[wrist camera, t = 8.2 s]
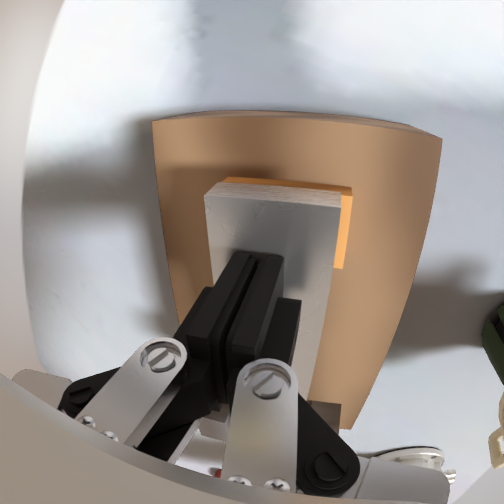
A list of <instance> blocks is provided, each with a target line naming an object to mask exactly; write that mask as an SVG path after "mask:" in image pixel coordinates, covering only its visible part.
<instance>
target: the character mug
mask: <svg viewBox="0 0 504 504" xmlns="http://www.w3.org/2000/svg"><path fill="white" fill-rule="evenodd" d="M497 313H498V315H499V317H500V319H501V321H500V322H499V323H498V325H497V326H496V328H494V326H493V324H492V322H491V321H490V319H489V320H488V321H487V323H486V325H485V328H484V330H483V333H482V343H483V347H484V349H485V351H486V353H487V355H488V358H489V360H490V362H491V363H492V365H493V367H494V369H495V371H496V372H497V374H498V376H499V378H500V380H501V382H502V384H503V385H504V304H503V305H502V306H500V307H499V308H498V309H497ZM499 420H500V425H501V427H500V428H498V429H497V430H496V431H494V432H493V433H492V434H491V435H490V436H489V441H488V443H489V450H490V457H491V464H492V465H493V467H494V469H498V468H500V467H502V466H504V454H502V450H501V445H500V439H501V438H503V439H504V392H503V395H502V397H501V400H500V403H499Z"/></svg>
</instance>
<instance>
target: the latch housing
mask: <svg viewBox="0 0 504 504" xmlns="http://www.w3.org/2000/svg"><path fill="white" fill-rule="evenodd" d="M152 132H153V145H154V157H155V167H156V177H157V187H158V195H159V204H160V212H161V219H162V227H163V234H164V241H165V247H166V254H167V260H168V266H169V272H170V278H171V284H172V289H173V295H174V300H175V305H176V311H177V316H178V321H179V325H181V324H182V322H183V320H184V319H185V317H186V316H187V314H188V312H189V311H190V309H191V308H192V306H193V304H194V303H195V301H196V300H197V298H198V296H199V295H200V293H201V292H202V290H203V289H204V288H205V287H206V286H209V287H213V286H214V283H213V275H212V266H211V258H210V249H209V240H208V231H207V222H206V212H205V202H204V195H205V194H206V193H207V192H208V191H209V190H210V189H211V188H212V187H213V186H214V185H215V184H216V183H217V182H227V183H244V184H259V185H272V186H285V187H296V188H306V189H317V190H326V191H335V192H341V214H340V222H339V230H338V238H337V245H336V252H335V259H334V266H333V272H332V278H331V284H330V290H329V296H328V302H327V307H326V313H325V318H324V324H323V329H322V334H321V339H320V344H319V348H318V353H317V358H316V362H315V367H314V371H313V376H312V380H311V384H310V388H309V393H308V397H307V401H306V402H307V403H308V404H309V405H310V406H311V407H312V408H313V409H314V410H315V411H316V412H317V413H318V414H319V416H320V417H321V418H322V419H323V420H324V421H325V422H326V423H327V424H328V425H329V426H330V427H331V428H332V429H333V430H334V431H335V432H336V433H337V434H339V429H349V430H351V428H352V427H353V425H354V423H355V421H356V419H357V417H358V415H359V413H360V411H361V409H362V407H363V405H364V403H365V401H366V399H367V397H368V395H369V393H370V391H371V389H372V387H373V384H374V382H375V380H376V378H377V376H378V373H379V371H380V369H381V367H382V364H383V362H384V359H385V357H386V355H387V352H388V350H389V347H390V345H391V342H392V340H393V337H394V335H395V332H396V329H397V327H398V324H399V321H400V318H401V316H402V313H403V310H404V307H405V304H406V301H407V298H408V295H409V292H410V289H411V286H412V282H413V279H414V276H415V272H416V269H417V265H418V262H419V258H420V255H421V251H422V247H423V243H424V239H425V235H426V231H427V227H428V222H429V218H430V213H431V208H432V203H433V198H434V193H435V188H436V182H437V176H438V170H439V163H440V156H441V148H442V138H439V137H437V136H435V135H432V134H430V133H428V132H425V131H423V130H420V129H418V128H415V127H413V126H410V125H406V124H401V123H395V122H389V121H382V120H376V119H368V118H361V117H353V116H344V115H334V114H322V113H309V112H292V111H260V110H234V111H204V112H198V113H192V114H186V115H180V116H175V117H170V118H165V119H160V120H155V121H152ZM230 418H231V416H230V409H229V403H228V404H227V405H226V404H222V407H221V409H220V412H217V411H213V410H212V411H211V413H210V414H209V415H207V416H204V417H203V419H202V422H201V424H200V426H199V429H200V432H201V435H203V436H207V437H210V438H214V439H218V440H222V441H225V442H227V436H228V430H229V424H230Z"/></svg>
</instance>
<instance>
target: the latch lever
mask: <svg viewBox="0 0 504 504" xmlns="http://www.w3.org/2000/svg"><path fill="white" fill-rule="evenodd" d="M204 202H205V212H206V222H207V231H208V240H209V249H210V258H211V266H212V275H213V283H214V285H215V283H216V281H217V280H218V278H219V276H220V275H221V273H222V271H223V270H224V268H225V266H226V265H227V263H228V261H229V260H230V258H231V256H232V255H233V253H234V252H241V253H249V254H251V255H252V258H255V259H257V267H258V265H259V262H260V260H261V259H263V260H266V259H267V257H268V256H275V257H283V258H285V264H284V285H283V298H291V299H299V300H302V306H301V315H300V322H299V329H298V335H297V341H296V346H295V351H294V356H293V361H292V365H291V368H292V369H293V370H294V372H295V373H296V375H297V380H298V393H299V394H300V395H301V396H302V397H303V398H304V399H305V400H306V401H307V397H308V393H309V388H310V384H311V380H312V376H313V371H314V367H315V362H316V358H317V353H318V348H319V344H320V339H321V334H322V329H323V324H324V318H325V313H326V307H327V302H328V296H329V290H330V284H331V278H332V272H333V266H334V259H335V252H336V245H337V238H338V230H339V222H340V214H341V192H335V191H326V190H317V189H306V188H296V187H285V186H272V185H259V184H244V183H227V182H217V183H216V184H215V185H214V186H213V187H212V188H211V189H210V190H209V191H208V192H207V193H206V194H205V195H204Z"/></svg>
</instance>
